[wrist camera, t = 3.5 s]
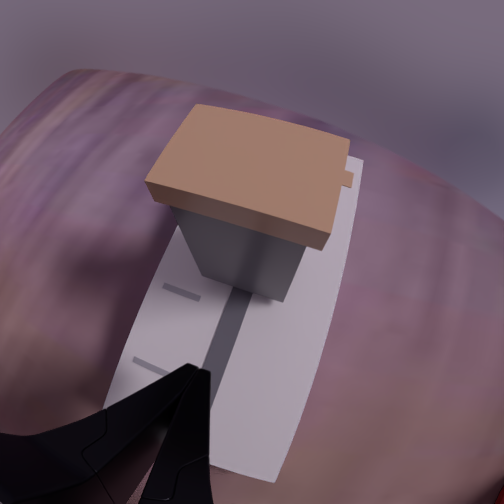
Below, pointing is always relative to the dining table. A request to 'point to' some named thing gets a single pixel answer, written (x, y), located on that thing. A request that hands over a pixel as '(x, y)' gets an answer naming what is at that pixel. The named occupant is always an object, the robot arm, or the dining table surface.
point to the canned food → (500, 497)
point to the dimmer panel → (241, 343)
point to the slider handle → (250, 194)
